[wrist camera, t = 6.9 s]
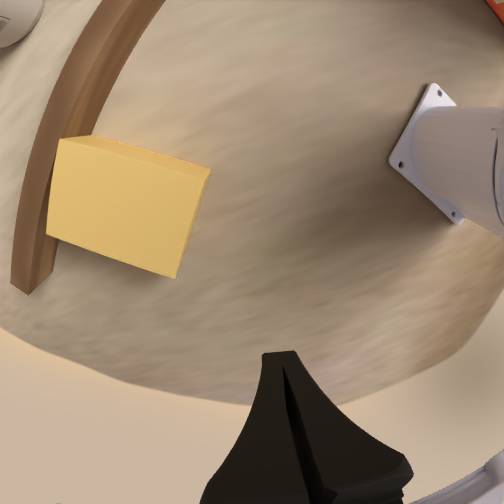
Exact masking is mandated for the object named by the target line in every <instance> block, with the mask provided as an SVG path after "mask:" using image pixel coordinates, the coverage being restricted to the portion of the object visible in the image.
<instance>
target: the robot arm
mask: <svg viewBox="0 0 504 504" xmlns="http://www.w3.org/2000/svg"><path fill="white" fill-rule="evenodd" d="M437 91H438V92H439V96H438V94H437ZM399 162H401V163H402V165H401V167H400V168H399V165H398V164H399ZM389 164H390V165H391V166H392V167H393V168H394V169H395V170H397V171H398V172H399V173H400V174H401V175H403V176H404V177H405V178H406V179H407V180H408V181H410V182H411V183H412V184H413V185H414V186H415V187H416V188H418V189H419V190H420V191H421V192H422V193H423V194H424V195H425V196H426V197H427V198H429V199H430V200H431V201H432V202H433V203H434V204H435V205H436V206H437V207H438V208H439V209H440V210H441V211H442V212H443V213H444V214H445V215H446V216H447V217H448V218H449V219H450V220H451V221H452V222H453V223H454V224H456V225H460V224H461V223H462V222H463V220H464V218H465V217H466V218H467V219H469V220H471V221H473V222H475V223H477V224H479V225H480V226H482V227H484V228H486V229H488V230H489V231H491V232H493V233H495V234H496V235H498V236H500V237H502V238H503V239H504V108H492V107H473V106H457V105H456V104H455V103H454V102H453V101H452V99H451V98H450V97H449V96H448V95H447V94H446V93H445V92H444V91H443V90H442V89H441V88H440V87H439V86H438V85H437V84H436V83H430V84H429V85H428V87H427V89H426V91H425V93H424V95H423V97H422V98H421V100H420V102H419V104H418V106H417V108H416V110H415V112H414V114H413V116H412V117H411V119H410V121H409V123H408V125H407V127H406V128H405V130H404V132H403V134H402V136H401V137H400V139H399V141H398V143H397V144H396V146H395V148H394V150H393V151H392V153H391V155H390V157H389ZM452 212H453V214H452ZM413 474H414V473H413V471H412V468H411V466H410V464H409V462H408V461H407V459H406V458H405V456H404V454H402V453H400V452H398V451H396V450H394V449H392V448H390V447H389V446H387V445H385V444H383V443H382V442H380V441H378V440H377V439H375V438H374V437H372V436H371V435H369V434H368V433H367V432H365V431H364V430H363V429H361V428H360V427H359V426H357V425H356V424H355V423H354V422H352V421H351V420H350V419H349V418H348V417H347V416H346V415H344V414H343V413H342V412H341V411H340V410H339V409H338V408H337V407H336V406H335V405H334V404H333V403H332V402H331V400H330V399H329V398H328V397H327V396H326V395H325V394H324V392H323V391H322V390H321V389H320V388H319V386H318V385H317V384H316V382H315V381H314V380H313V378H312V377H311V376H310V374H309V373H308V371H307V370H306V368H305V367H304V365H303V364H302V362H301V360H300V358H299V357H298V355H297V353H296V352H295V351H294V350H293V351H283V352H272V353H264V354H263V355H262V370H261V376H260V381H259V385H258V389H257V393H256V396H255V399H254V402H253V405H252V408H251V411H250V413H249V416H248V418H247V421H246V423H245V425H244V427H243V429H242V431H241V433H240V435H239V437H238V439H237V441H236V443H235V444H234V446H233V448H232V449H231V451H230V453H229V454H228V456H227V457H226V459H225V460H224V462H223V463H222V465H221V466H220V468H219V469H218V470H217V471H216V473H215V474H214V475H213V477H212V478H211V479H210V480H209V482H208V483H207V486H206V487H205V490H204V492H203V495H202V497H201V500H200V504H403V501H402V497H403V496H404V494H403V491H402V488H403V487H404V486H405V485H406V484H407V483H408V482H409V481H410V480H411V479H412V477H413ZM503 502H504V449H503V450H502V451H500V452H499V453H497V454H496V455H495V456H493V457H492V458H491V459H490V460H489V461H488V462H486V463H485V465H484V466H482V467H481V468H479V469H478V470H476V471H474V472H473V473H471V474H470V475H467V476H466V477H464V478H463V479H460V480H458V481H457V482H455V483H453V484H451V485H449V486H447V487H445V488H443V489H441V490H439V491H437V492H435V493H433V494H431V495H428V496H426V497H424V498H422V499H419V500H417V501H414V502H412V503H410V504H502V503H503ZM57 504H60V503H57Z"/></svg>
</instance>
